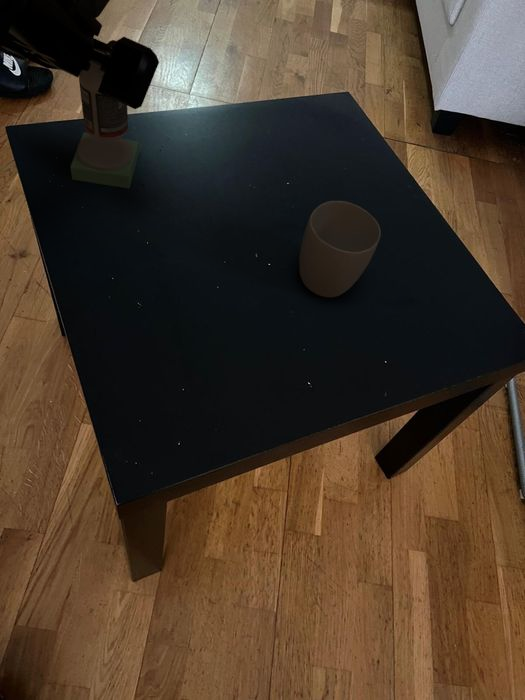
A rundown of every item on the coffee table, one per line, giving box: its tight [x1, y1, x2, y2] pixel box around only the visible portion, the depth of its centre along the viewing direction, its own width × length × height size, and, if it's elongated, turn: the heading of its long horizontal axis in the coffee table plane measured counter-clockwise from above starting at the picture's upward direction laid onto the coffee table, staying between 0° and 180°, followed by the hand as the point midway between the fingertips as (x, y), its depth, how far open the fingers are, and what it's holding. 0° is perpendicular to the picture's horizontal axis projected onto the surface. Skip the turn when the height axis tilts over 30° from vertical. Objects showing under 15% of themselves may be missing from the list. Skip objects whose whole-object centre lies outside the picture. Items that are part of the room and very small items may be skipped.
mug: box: [298, 200, 381, 299], centre depth 70 cm, size 13×9×10 cm
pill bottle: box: [78, 48, 129, 140], centre depth 69 cm, size 6×6×10 cm
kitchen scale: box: [69, 132, 140, 190], centre depth 77 cm, size 8×8×3 cm
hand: (109, 77), depth 68 cm, fingers closed on pill bottle, 6 cm apart
